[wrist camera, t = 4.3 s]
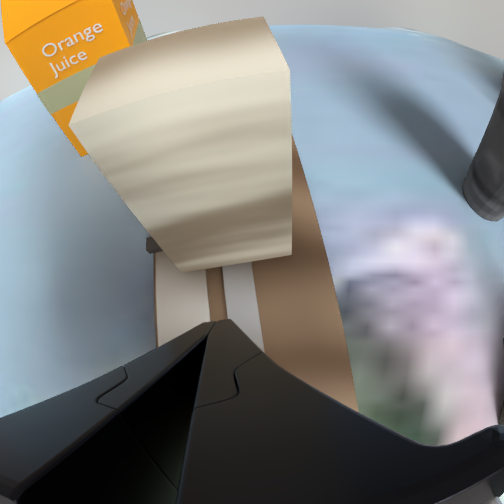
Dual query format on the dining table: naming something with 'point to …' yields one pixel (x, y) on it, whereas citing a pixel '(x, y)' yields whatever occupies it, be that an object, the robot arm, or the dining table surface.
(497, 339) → the dining table surface
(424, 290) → the dining table surface
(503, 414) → the sword in stone
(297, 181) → the gauge board
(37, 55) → the orange juice
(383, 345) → the dining table surface
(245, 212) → the slider block
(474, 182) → the beverage cup
